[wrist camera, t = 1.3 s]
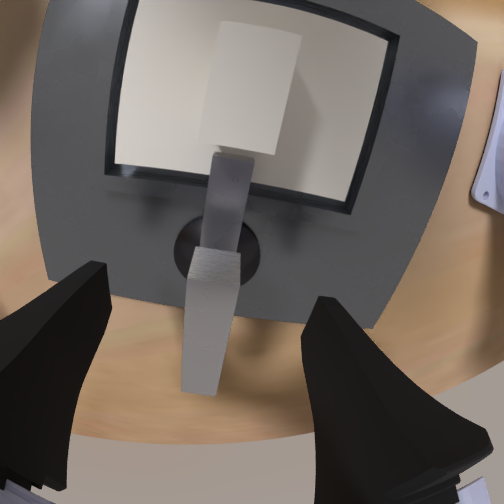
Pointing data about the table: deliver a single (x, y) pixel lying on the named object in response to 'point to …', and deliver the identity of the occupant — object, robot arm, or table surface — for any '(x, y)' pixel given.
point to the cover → (248, 91)
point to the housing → (260, 195)
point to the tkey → (214, 274)
